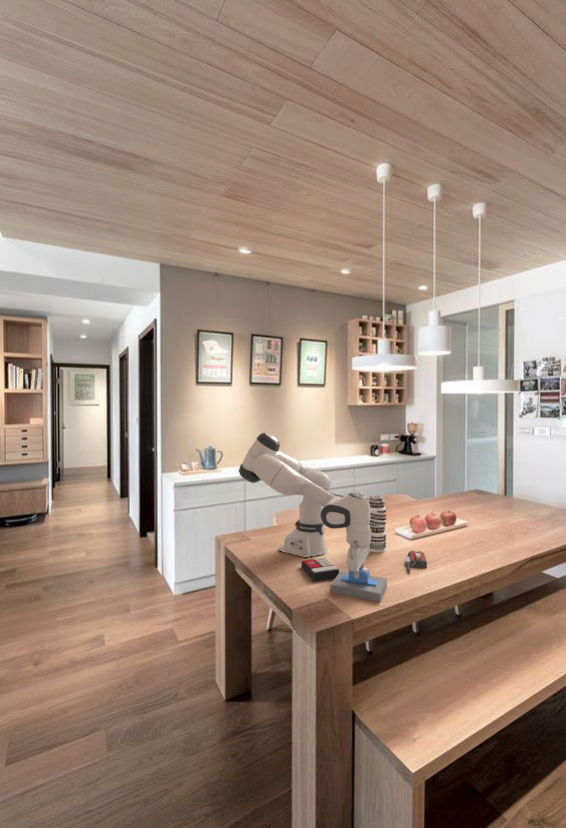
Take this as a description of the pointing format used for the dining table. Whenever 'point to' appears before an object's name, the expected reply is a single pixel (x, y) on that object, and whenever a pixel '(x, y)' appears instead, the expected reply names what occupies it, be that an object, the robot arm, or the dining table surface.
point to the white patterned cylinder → (377, 524)
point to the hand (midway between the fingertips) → (358, 574)
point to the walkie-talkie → (415, 560)
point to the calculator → (320, 569)
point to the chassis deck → (359, 588)
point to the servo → (360, 578)
